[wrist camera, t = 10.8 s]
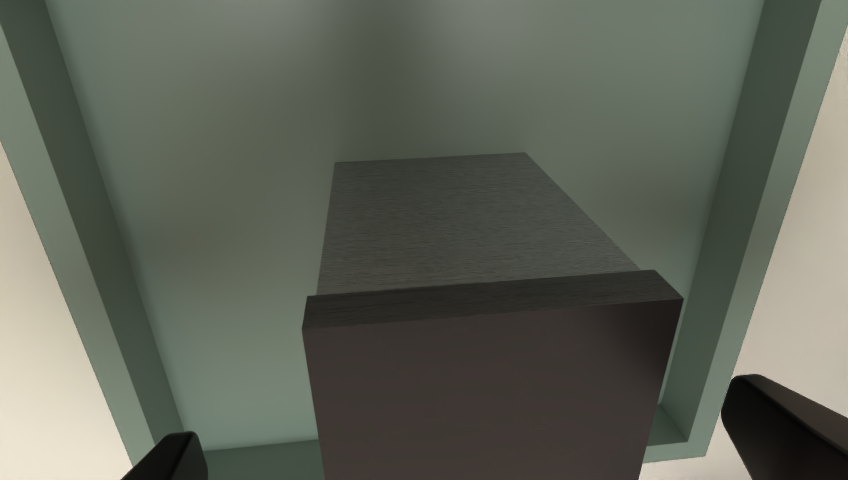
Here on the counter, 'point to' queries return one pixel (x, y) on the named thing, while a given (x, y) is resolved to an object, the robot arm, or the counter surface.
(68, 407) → the counter surface
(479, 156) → the capped grey block
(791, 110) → the tray
